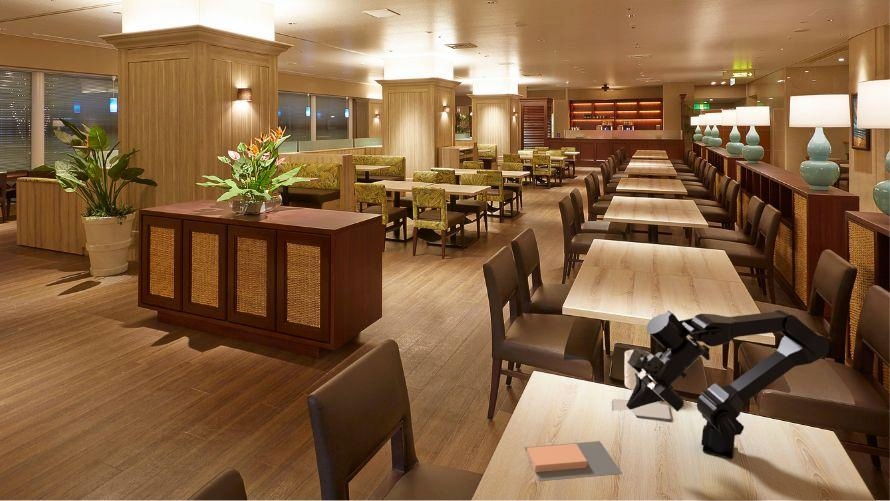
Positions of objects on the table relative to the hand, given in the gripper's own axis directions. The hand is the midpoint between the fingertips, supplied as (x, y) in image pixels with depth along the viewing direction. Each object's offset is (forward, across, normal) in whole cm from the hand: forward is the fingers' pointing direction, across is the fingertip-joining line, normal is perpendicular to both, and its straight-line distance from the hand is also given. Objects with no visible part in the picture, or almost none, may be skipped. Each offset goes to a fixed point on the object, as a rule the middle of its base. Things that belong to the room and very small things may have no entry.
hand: (628, 407), depth 130 cm
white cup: (-3, -34, +20) cm, 40 cm away
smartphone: (+1, -20, +18) cm, 27 cm away
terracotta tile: (+15, +1, 0) cm, 15 cm away
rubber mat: (+18, +1, -1) cm, 18 cm away
